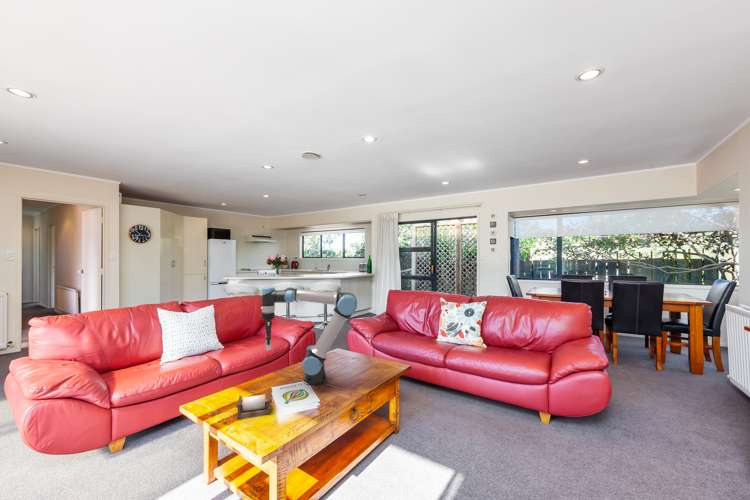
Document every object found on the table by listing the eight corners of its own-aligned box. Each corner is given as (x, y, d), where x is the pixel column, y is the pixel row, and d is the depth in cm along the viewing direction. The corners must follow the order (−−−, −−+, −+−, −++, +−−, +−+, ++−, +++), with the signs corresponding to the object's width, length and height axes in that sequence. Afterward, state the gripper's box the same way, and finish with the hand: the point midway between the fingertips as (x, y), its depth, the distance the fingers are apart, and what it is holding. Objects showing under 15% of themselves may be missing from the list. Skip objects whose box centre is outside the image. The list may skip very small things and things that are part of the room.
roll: (265, 405, 174) (265, 392, 174) (265, 411, 167) (265, 397, 167) (243, 408, 170) (243, 395, 170) (242, 414, 163) (242, 400, 164)
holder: (271, 404, 177) (271, 391, 177) (271, 414, 166) (271, 400, 166) (237, 409, 171) (237, 396, 171) (235, 419, 160) (235, 405, 161)
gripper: (261, 309, 206) (261, 341, 206) (261, 316, 182) (261, 353, 182) (273, 308, 208) (273, 340, 208) (275, 315, 185) (275, 352, 185)
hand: (268, 346), depth 195 cm, fingers open, 13 cm apart
